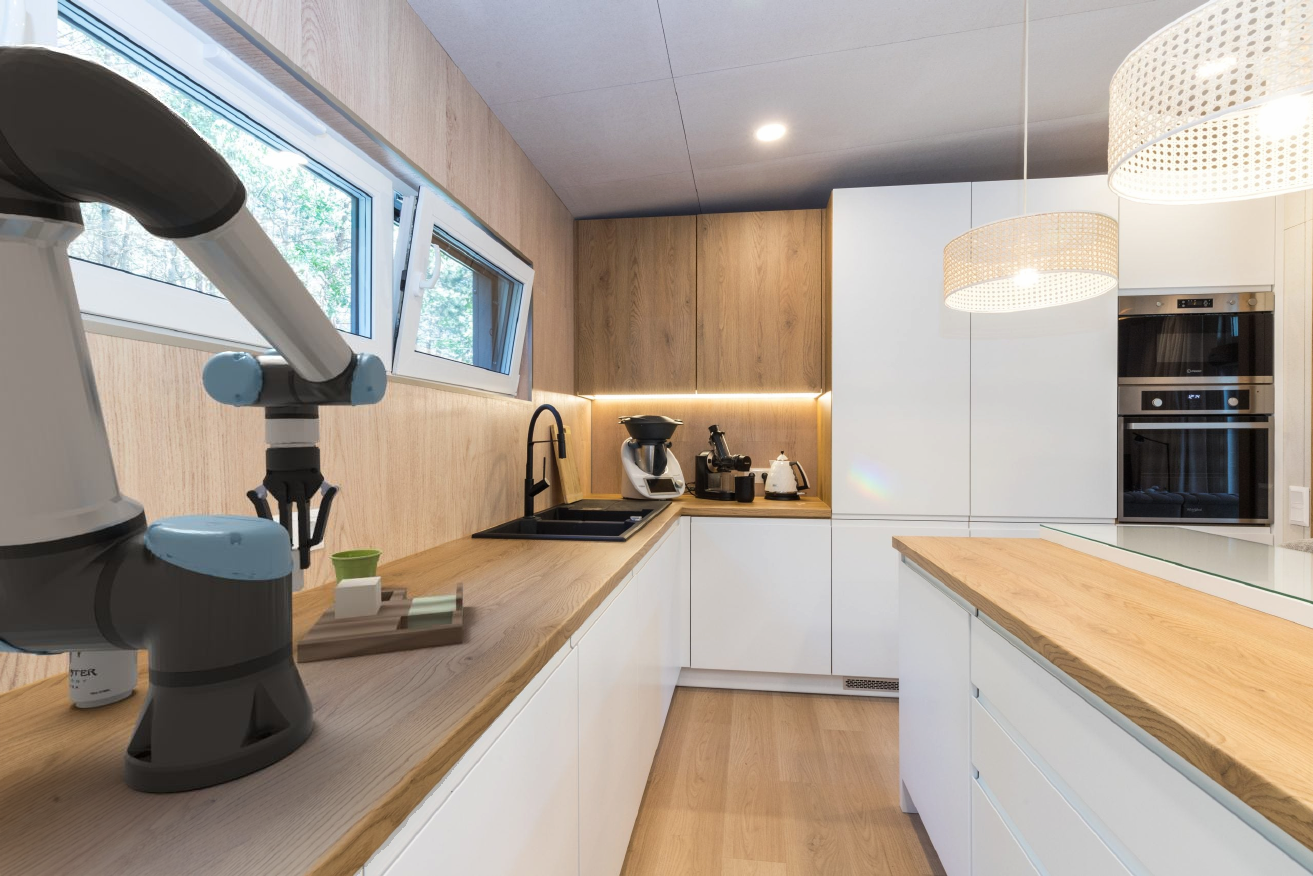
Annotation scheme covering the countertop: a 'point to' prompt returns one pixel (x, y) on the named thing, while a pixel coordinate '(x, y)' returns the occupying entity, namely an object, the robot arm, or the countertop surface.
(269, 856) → the countertop surface
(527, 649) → the countertop surface
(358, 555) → the plant pot
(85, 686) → the energy drink can
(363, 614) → the block
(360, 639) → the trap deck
